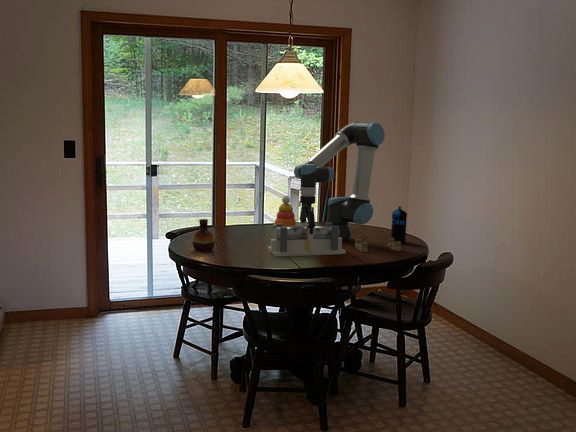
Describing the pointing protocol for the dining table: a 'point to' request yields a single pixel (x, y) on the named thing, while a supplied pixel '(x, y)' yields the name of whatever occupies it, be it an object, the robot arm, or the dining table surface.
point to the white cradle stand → (306, 244)
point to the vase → (203, 238)
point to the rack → (390, 244)
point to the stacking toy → (285, 214)
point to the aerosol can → (399, 225)
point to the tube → (305, 232)
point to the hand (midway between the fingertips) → (306, 237)
